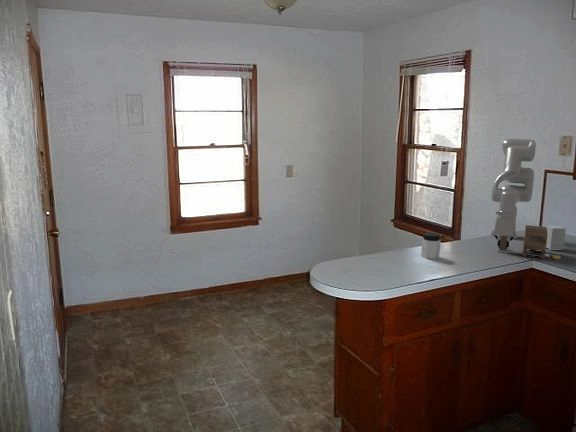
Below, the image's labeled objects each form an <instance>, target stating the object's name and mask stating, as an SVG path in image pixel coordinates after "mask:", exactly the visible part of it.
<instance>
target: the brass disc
mask: <svg viewBox="0 0 576 432" xmlns="http://www.w3.org/2000/svg"><path fill="white" fill-rule="evenodd" d="M549 255H550V258H549V259H551V258H554V259H553V260H561V255H559V254H549Z"/></svg>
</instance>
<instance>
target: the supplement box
mask: <svg viewBox="0 0 576 432" xmlns="http://www.w3.org/2000/svg"><path fill="white" fill-rule="evenodd" d="M545 227H547V233H548V235H547V243H546V247H547V248H549V249H557V250H558V249H560V250H563V251H564V247H565V246H564V245H565V238H566V232H567V231H566V228H565V227H562V226H561V225H545Z"/></svg>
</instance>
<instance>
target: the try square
mask: <svg viewBox="0 0 576 432" xmlns="http://www.w3.org/2000/svg"><path fill="white" fill-rule="evenodd" d="M500 240H501V241H500V248H498V251H497V252H498V253H504V254H510V253H513V254H512V255H519V254H521V255H520V256H523V250H519V249H509V248H507V249H506V242H507V240H508V239H507V236H501V238H500ZM541 254H542V252H537V251H529V250H527V253H526V256H527V255H531V256H530V257H535V256H541ZM550 255H551V254H549V253H545V257H548V258H547V259H551V258H550Z"/></svg>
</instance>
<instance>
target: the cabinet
mask: <svg viewBox="0 0 576 432" xmlns="http://www.w3.org/2000/svg"><path fill="white" fill-rule="evenodd" d="M547 235H548V233H547V227H546V226H539V225H529V224H526V225H525V229H524V238H523V246H522V247H523V248H522V251H523V255H522V257H523V258H527V255H526V253H527V251H528V250H527V249H530V250H541V251H542V252H541V253H542V254H541V257H540V259H541V260H545V259H546V258H545V254H546V250H547V249H546V243H547ZM523 249H524V250H523ZM530 250H529V251H530Z"/></svg>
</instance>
